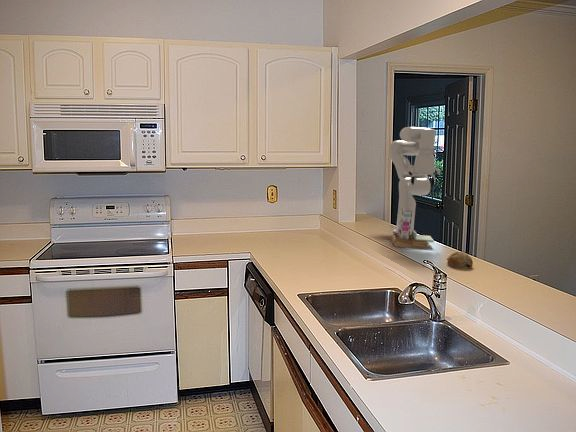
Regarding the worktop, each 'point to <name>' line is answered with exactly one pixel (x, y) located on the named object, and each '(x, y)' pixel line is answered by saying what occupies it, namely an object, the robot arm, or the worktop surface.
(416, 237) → the lid
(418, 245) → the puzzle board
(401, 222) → the candy bar box
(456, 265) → the bread roll
